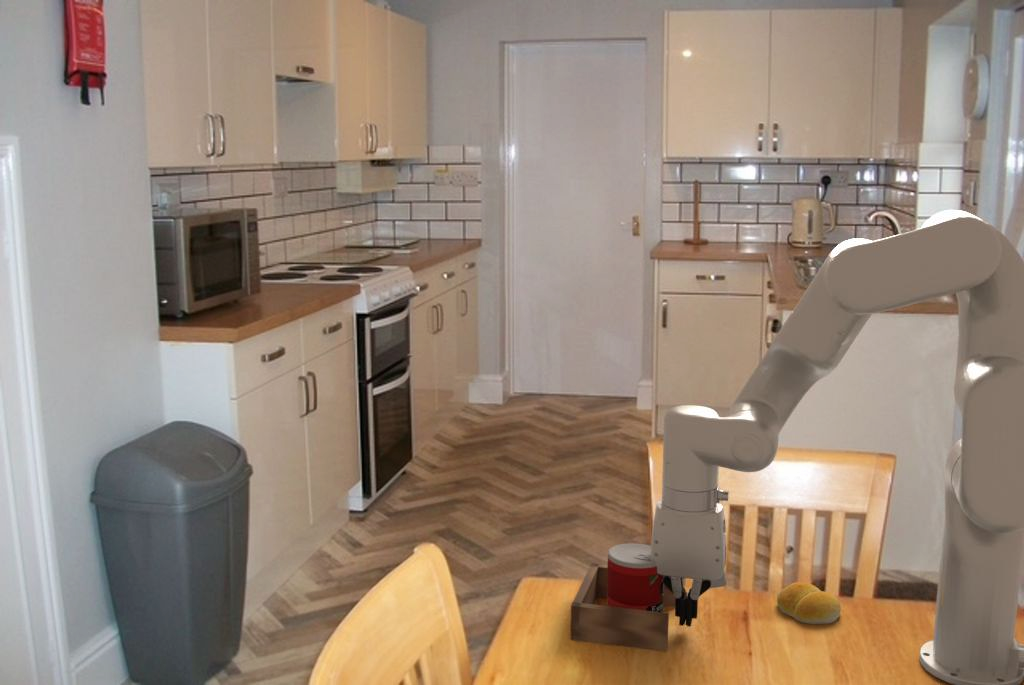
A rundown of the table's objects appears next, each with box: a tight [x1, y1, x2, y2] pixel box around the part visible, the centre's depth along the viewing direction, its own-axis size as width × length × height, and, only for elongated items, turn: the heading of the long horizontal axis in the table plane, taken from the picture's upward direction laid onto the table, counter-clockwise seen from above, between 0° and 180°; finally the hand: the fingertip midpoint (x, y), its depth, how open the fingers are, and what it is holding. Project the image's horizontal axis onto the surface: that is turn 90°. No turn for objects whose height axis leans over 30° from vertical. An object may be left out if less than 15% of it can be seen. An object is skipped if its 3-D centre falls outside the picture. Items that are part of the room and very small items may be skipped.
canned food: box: [606, 542, 664, 613], centre depth 149 cm, size 8×8×11 cm
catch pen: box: [570, 562, 675, 652], centre depth 151 cm, size 13×15×5 cm
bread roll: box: [776, 581, 841, 625], centre depth 155 cm, size 8×9×4 cm
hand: (685, 621), depth 148 cm, fingers closed
